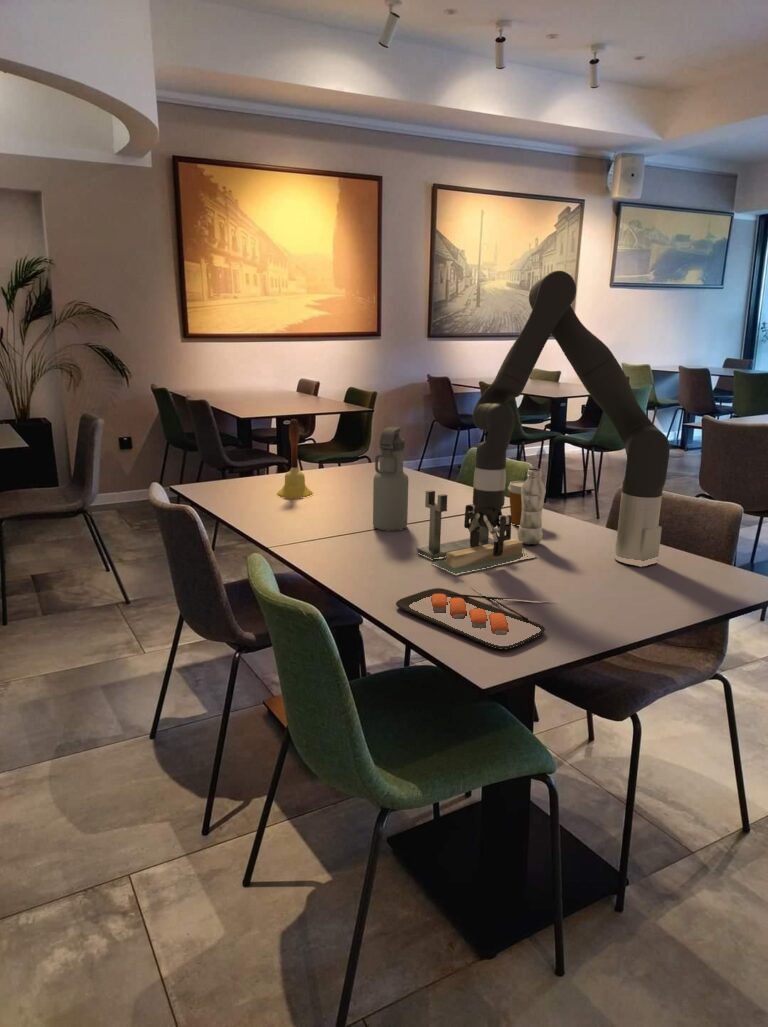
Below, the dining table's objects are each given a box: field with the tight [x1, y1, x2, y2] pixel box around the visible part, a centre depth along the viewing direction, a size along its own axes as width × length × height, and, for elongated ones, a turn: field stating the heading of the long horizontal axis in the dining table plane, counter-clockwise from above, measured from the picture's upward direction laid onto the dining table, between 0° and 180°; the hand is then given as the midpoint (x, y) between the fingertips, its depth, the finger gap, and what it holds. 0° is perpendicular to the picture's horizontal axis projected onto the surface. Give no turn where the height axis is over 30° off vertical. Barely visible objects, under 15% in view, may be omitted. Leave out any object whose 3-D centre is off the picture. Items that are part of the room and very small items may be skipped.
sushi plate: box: [395, 587, 546, 650], centre depth 145 cm, size 29×30×4 cm
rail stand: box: [416, 489, 495, 559], centre depth 182 cm, size 6×22×16 cm, turn 124°
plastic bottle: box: [517, 467, 547, 545], centre depth 188 cm, size 6×7×20 cm
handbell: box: [276, 418, 314, 499], centre depth 237 cm, size 12×12×25 cm
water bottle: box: [372, 426, 409, 531], centre depth 200 cm, size 10×10×28 cm
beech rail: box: [445, 538, 524, 568], centre depth 175 cm, size 3×22×3 cm, turn 124°
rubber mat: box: [431, 549, 528, 574], centre depth 176 cm, size 9×26×1 cm, turn 124°
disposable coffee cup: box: [507, 480, 526, 525], centre depth 208 cm, size 10×10×12 cm
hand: (485, 551), depth 175 cm, fingers open, 8 cm apart
